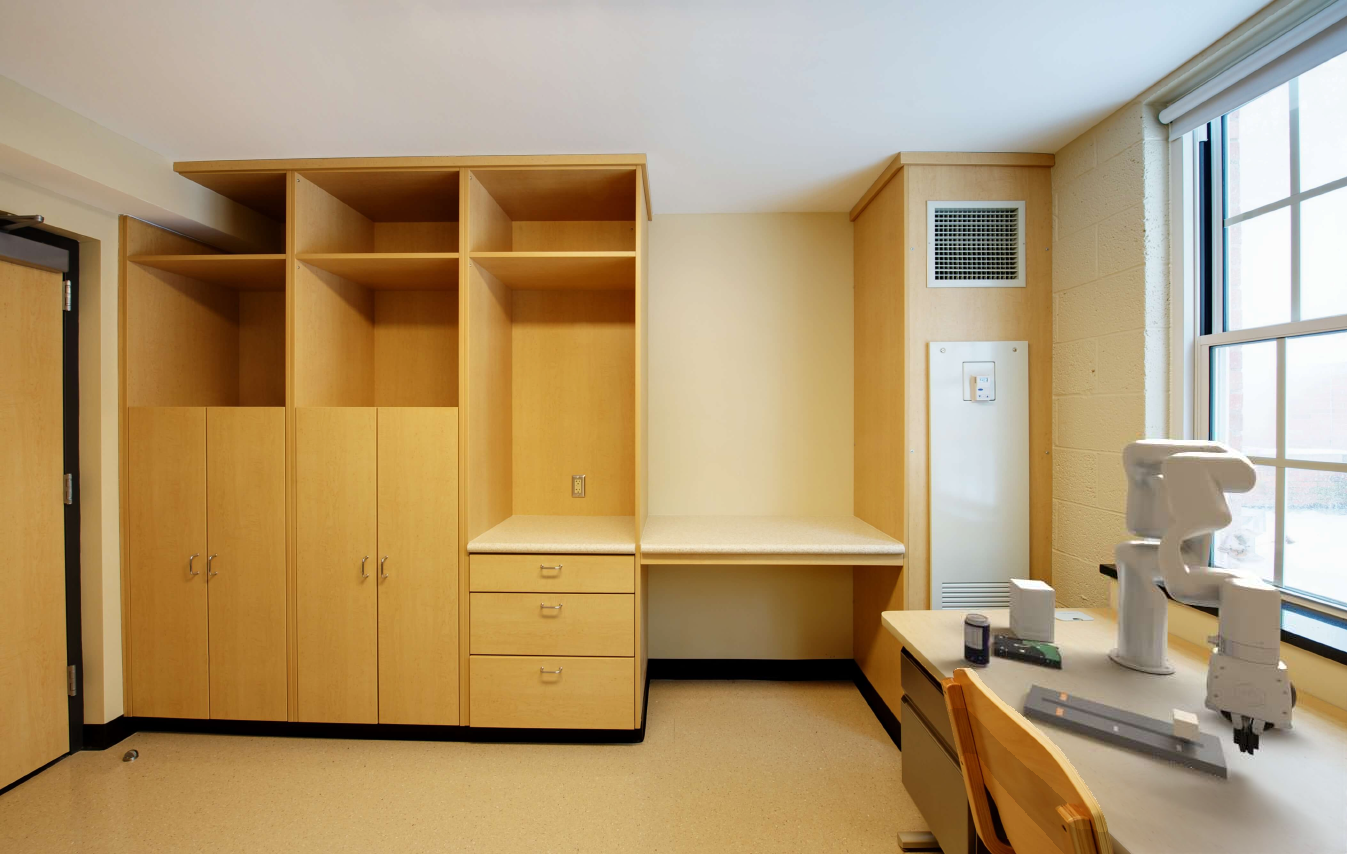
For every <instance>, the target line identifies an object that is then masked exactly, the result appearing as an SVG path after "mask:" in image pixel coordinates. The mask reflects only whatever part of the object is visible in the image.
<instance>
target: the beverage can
mask: <svg viewBox="0 0 1347 854" xmlns="http://www.w3.org/2000/svg"><path fill="white" fill-rule="evenodd" d="M963 621H964V624H963V625H964V627H963V629H964V630H963V632H964V633H963V634H964V636H963V637H964V640H963V641H964V642H963V647H964V648H963V649H964V650H963V657H964V659H965V661H967V663H968V664H969V665H972V666H973V667H979V668H983V667H986V666H987V665H989V663H990V654H991V653H990V652H991V651H990V649H991V648H990V641H991V639H990V637H991V635H990V634H991V633H990V630H991V628H990V627H991V624H990V622H989V618H988V617H987V616H985V615H984V614H983V615H982V614H979V613H968V614H966V615H965V618H964V620H963Z"/></svg>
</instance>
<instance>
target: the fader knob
mask: <svg viewBox="0 0 1347 854" xmlns="http://www.w3.org/2000/svg"><path fill="white" fill-rule="evenodd" d="M1172 724H1173V729H1174V735H1176V736H1180V737H1181V739H1183V740H1186V741H1190V740H1193V741H1197V742H1198V731H1199V720H1198V716H1197V714H1195V713H1192V712H1191V713H1190V712H1188V711H1183V710H1180V709H1176V708H1172Z"/></svg>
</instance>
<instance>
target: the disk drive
mask: <svg viewBox="0 0 1347 854" xmlns="http://www.w3.org/2000/svg"><path fill="white" fill-rule="evenodd" d="M993 637H994V638H993V639H994V640H993V656H994V657H999V658H1004V659H1008V660H1014V661H1019V662H1024V663H1028V664H1034V665H1038V666H1043V667H1046V668H1051V669H1056V670H1062V669H1063V668H1062V663H1063V660H1062V656H1061V653H1060V647H1059V646H1055V645H1050V644H1047V643H1042V642H1038V641H1033V640H1027V639H1019V638H1016V637H1010V636H1005V635H1000V634H994V636H993Z"/></svg>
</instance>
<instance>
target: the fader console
mask: <svg viewBox="0 0 1347 854" xmlns="http://www.w3.org/2000/svg"><path fill="white" fill-rule="evenodd" d="M1023 716H1024V717H1029V718H1031V719H1035V720H1038V721H1042V722H1044V723H1048V724H1051V725H1054V726H1057V727H1060V728H1063V729H1066V730H1070V731H1072V732H1076V733H1078V734H1082V735H1086V736H1089V737H1091V738H1095V739H1098V740H1101V741H1104V742H1108V743H1111V744H1114V745H1116V746H1117V745H1118V746H1120V747H1123V748H1126V749H1130V750H1133V751H1136V752H1139V753H1142V754H1145V755H1149V756H1151V755H1152V757H1154V756H1155V758H1157V757H1159V758H1158V759H1161V760H1164V759H1165V760H1164V761H1167V760H1168V761H1167V762H1170V761H1172V762H1171V763H1173V762H1175V763H1174V764H1176V763H1177V765H1179V764H1182V765H1181V766H1183V765H1184V766H1183V767H1186V766H1187V767H1186V768H1189V767H1192V768H1194V769H1193V770H1195V769H1196V771H1198V770H1199V772H1201V771H1203V773H1204V774H1205V773H1206V774H1208V775H1211V774H1212V775H1211V776H1214V775H1216V776H1215V777H1217V776H1219V777H1218V778H1220V777H1221V779H1223V778H1225V779H1224V780H1227V778H1228V776H1227V775H1228V774H1227V773H1228V767H1227V764H1226V758H1225V755H1224V752H1223V748H1222V744H1221V739H1220V736H1217V735H1214V734H1210V733H1208V732H1207V733H1206V732H1202V731H1200V730H1198V742H1197V741H1193V740H1190V741H1186V740H1183V739H1181V737H1180V736H1176V735H1174V729H1173V722H1172V723H1171V722H1168V721H1164V720H1160V719H1157V718H1153V717H1150V716H1146V715H1144V714H1140V713H1135V712H1132V711H1128V710H1124V709H1122V708H1117V707H1115V706H1111V705H1108V704H1104V703H1100V702H1097V701H1094V700H1090V699H1085V698H1082V697H1079V696H1076V695H1072V694H1068V693H1065V692H1061V691H1057V690H1054V689H1052V688H1047V687H1043V686H1039V685H1036V684H1034V683H1033V684H1032V685H1031V687H1030V689H1029V692H1028V694H1027V696H1026V699H1025V702H1024V704H1023ZM1192 768H1191V769H1192Z"/></svg>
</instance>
